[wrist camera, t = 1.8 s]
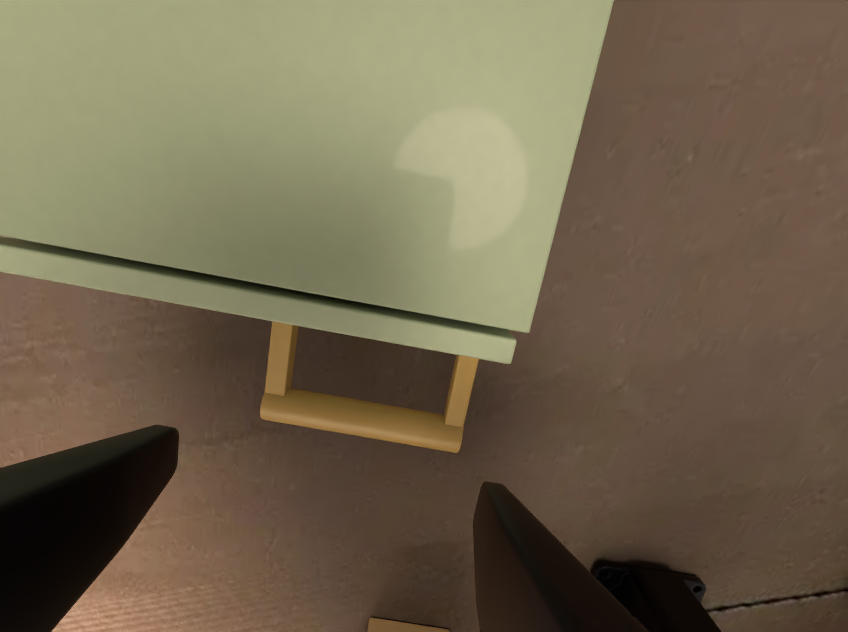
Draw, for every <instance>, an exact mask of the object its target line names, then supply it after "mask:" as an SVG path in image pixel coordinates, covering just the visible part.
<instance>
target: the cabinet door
mask: <svg viewBox="0 0 848 632" xmlns="http://www.w3.org/2000/svg"><path fill="white" fill-rule="evenodd" d="M0 272H5V273H10V274H16V275H21V276H27V277H32V278H38V279H43V280H49V281H54V282H60V283H65V284H71V285H76V286H82V287H87V288H93V289H98V290H104V291H109V292H115V293H120V294H126V295H131V296H137V297H142V298H148V299H153V300H159V301H164V302H170V303H175V304H181V305H186V306H192V307H197V308H203V309H208V310H214V311H219V312H225V313H230V314H236V315H241V316H247V317H252V318H258V319H263V320H269V321H272V328H271V338H270V347H269V357H268V366H267V376H266V385H265V393H264V396H263V398H262V402H261V407H260V416H261V418H262V419H263V420H269V421H275V422H281V423H287V424H292V425H298V426H304V427H310V428H315V429H321V430H327V431H333V432H339V433H344V434H350V435H356V436H362V437H367V438H373V439H379V440H385V441H391V442H396V443H402V444H408V445H414V446H420V447H425V448H431V449H437V450H443V451H448V452H454V453H457V452H458V451H459V449H460V446H461V442H462V437H463V426H464V422H465V418H466V413H467V409H468V405H469V400H470V396H471V391H472V387H473V383H474V378H475V374H476V370H477V365H478V361H479V359H483V360H489V361H494V362H500V363H505V364H510V363H511V362H512V358H513V354H514V350H515V346H516V339H515V338H514V337H513V335H512V334H511V333H510V332H509V330H508V329H503V328H497V327H492V326H486V325H481V324H476V323H470V322H465V321H459V320H454V319H448V318H443V317H438V316H432V315H427V314H421V313H416V312H411V311H405V310H400V309H394V308H389V307H384V306H378V305H373V304H367V303H362V302H357V301H351V300H346V299H340V298H335V297H330V296H324V295H319V294H313V293H308V292H302V291H297V290H292V289H286V288H281V287H275V286H270V285H265V284H259V283H254V282H248V281H243V280H238V279H232V278H227V277H221V276H216V275H211V274H205V273H200V272H194V271H189V270H183V269H178V268H173V267H167V266H162V265H156V264H151V263H146V262H140V261H135V260H129V259H124V258H119V257H113V256H108V255H102V254H97V253H92V252H86V251H81V250H75V249H70V248H65V247H59V246H54V245H48V244H43V243H37V242H32V241H27V240H21V239H16V238H10V237H8V238H0ZM298 326H302V327H307V328H313V329H318V330H324V331H329V332H335V333H340V334H346V335H351V336H357V337H362V338H368V339H373V340H379V341H384V342H390V343H395V344H401V345H406V346H412V347H417V348H423V349H428V350H434V351H439V352H445V353H450V354H456V359H455V364H454V368H453V373H452V378H451V382H450V387H449V392H448V396H447V401H446V405H445V410H444V415H442V414H436V413H431V412H425V411H419V410H413V409H408V408H402V407H396V406H391V405H385V404H379V403H374V402H368V401H362V400H357V399H351V398H345V397H340V396H334V395H328V394H323V393H317V392H311V391H306V390H300V389H294V388H291V383H292V375H293V367H294V359H295V350H296V342H297V334H298Z"/></svg>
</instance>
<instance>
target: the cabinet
mask: <svg viewBox="0 0 848 632" xmlns="http://www.w3.org/2000/svg"><path fill="white" fill-rule="evenodd" d="M613 2H614V0H0V236H5V237H10V238H16V239H21V240H27V241H32V242H37V243H43V244H48V245H54V246H59V247H65V248H70V249H75V250H81V251H86V252H92V253H97V254H102V255H108V256H113V257H119V258H124V259H129V260H135V261H140V262H146V263H151V264H156V265H162V266H167V267H173V268H178V269H183V270H189V271H194V272H200V273H205V274H211V275H216V276H221V277H227V278H232V279H238V280H243V281H248V282H254V283H259V284H265V285H270V286H275V287H281V288H286V289H292V290H297V291H302V292H308V293H313V294H319V295H324V296H330V297H335V298H340V299H346V300H351V301H357V302H362V303H367V304H373V305H378V306H384V307H389V308H394V309H400V310H405V311H411V312H416V313H421V314H427V315H432V316H438V317H443V318H448V319H454V320H459V321H465V322H470V323H476V324H481V325H486V326H492V327H497V328H503V329H508V330H513V331H519V332H524V333H529V331H530V328H531V324H532V320H533V316H534V312H535V308H536V304H537V300H538V296H539V292H540V288H541V285H542V281H543V277H544V273H545V269H546V265H547V261H548V257H549V253H550V249H551V245H552V241H553V237H554V234H555V230H556V226H557V222H558V218H559V214H560V210H561V206H562V202H563V198H564V194H565V190H566V186H567V183H568V179H569V175H570V171H571V167H572V163H573V159H574V155H575V151H576V147H577V143H578V139H579V135H580V132H581V128H582V124H583V120H584V116H585V112H586V108H587V104H588V100H589V96H590V92H591V88H592V84H593V81H594V77H595V73H596V69H597V65H598V61H599V57H600V53H601V49H602V45H603V41H604V37H605V33H606V30H607V26H608V22H609V18H610V14H611V10H612V6H613Z"/></svg>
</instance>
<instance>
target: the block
mask: <svg viewBox="0 0 848 632" xmlns="http://www.w3.org/2000/svg"><path fill="white" fill-rule="evenodd" d="M367 632H450V630H449V629H442V628H436V627H430V626H423V625H417V624H411V623H404V622H398V621H391V620H385V619H379V618H372V617H371V618H370V619H369V624H368V629H367Z"/></svg>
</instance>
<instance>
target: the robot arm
mask: <svg viewBox="0 0 848 632" xmlns="http://www.w3.org/2000/svg"><path fill="white" fill-rule="evenodd" d="M178 445H179V432H178V430H177V429H176V428H173V427H168V426H162V425H153V426H150V427H146V428H143V429H139V430H135V431H132V432H128V433H125V434H121V435H117V436H114V437H110V438H107V439H103V440H99V441H96V442H92V443H89V444H85V445H82V446H78V447H74V448H71V449H67V450H64V451H60V452H56V453H53V454H49V455H46V456H42V457H38V458H35V459H31V460H28V461H24V462H20V463H17V464H13V465H10V466H6V467H3V468H0V632H51V631H52V630H53V629H54V628H55V626H56V625H57V624H58V623H59V622H60V620H61V619H62V618H63V617H64V616H65V615H66V613H67V612H68V611H69V610H70V609H71V607H72V606H73V605H74V604H75V603H76V602H77V600H78V599H79V598H80V597H81V596H82V594H83V593H84V592H85V591H86V590H87V589H88V587H89V586H90V585H91V584H92V583H93V581H94V580H95V579H96V578H97V577H98V576H99V574H100V573H101V572H102V571H103V570H104V568H105V567H106V566H107V565H108V564H109V562H110V561H111V560H112V559H113V558H114V557H115V555H116V554H117V553H118V552H119V550H120V549H121V548H122V547H123V545H124V544H125V543H126V541H127V540H128V539H129V537H130V536H131V535H132V533H133V532H134V530H135V529H136V528H137V526H138V525H139V523H140V522H141V520H142V519H143V518H144V516H145V515H146V513H147V512H148V511H149V509H150V508H151V506H152V505H153V503H154V502H155V501H156V499H157V498H158V496H159V495H160V493H161V492H162V491H163V489H164V488H165V486H166V485H167V483H168V482H169V481H170V479H171V478H172V476H173V474H174V473H175V470H176V467H177V462H178ZM473 536H474V561H475V586H476V603H477V612H478V620H479V626H480V632H721V631H720V629H719V628H718V627H717V625H716V624H715V623H714V621H713V620H712V618H711V617H710V616H709V614H708V613H707V612H706V610H705V609H704V608H703V606H702V605H701V601H702V598H703V596H704V593H705V591H706V586H705V584H704V583H703V582H702V581H701V579H700V578H699V577H696V576H690V575H684V574H678V573H672V572H666V571H660V570H654V569H648V568H642V567H636V566H630V565H624V564H618V563H612V562H606V561H601V562H598V563H597V564H595V566H594V568H593V571H592V574H591V573H590V572H589V571H588V570H587V569H586V568H585V567H584V566H583V565H582V564H581V563H580V562H579V561H578V560H577V559H576V558H575V557H574V556H573V555H572V554H571V553H570V552H569V551H568V550H567V549H566V548H565V547H564V546H563V545H562V544H561V542H560V541H559V540H558V539H557V538H556V537H555V536H554V535H553V534H552V533H551V532H550V531H549V530H548V529H547V528H546V527H545V526H544V525H543V524H542V523H541V522H540V521H539V520H538V519H537V518H536V517H535V516H534V515H533V514H532V513H531V512H530V511H529V510H528V509H527V508H526V507H525V506H524V505H523V504H522V503H521V502H520V501H519V500H518V499H517V498H516V497H515V496H514V495H513V494H512V493H511V492H510V491H509V490H508V489H507V488H506V487H505V486H504V485H502V484H499V483H493V482H487V481H485V482H484V483H483V484H482V486H481V489H480V493H479V497H478V501H477V505H476V509H475V513H474V520H473ZM603 571H604V572H603Z"/></svg>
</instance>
